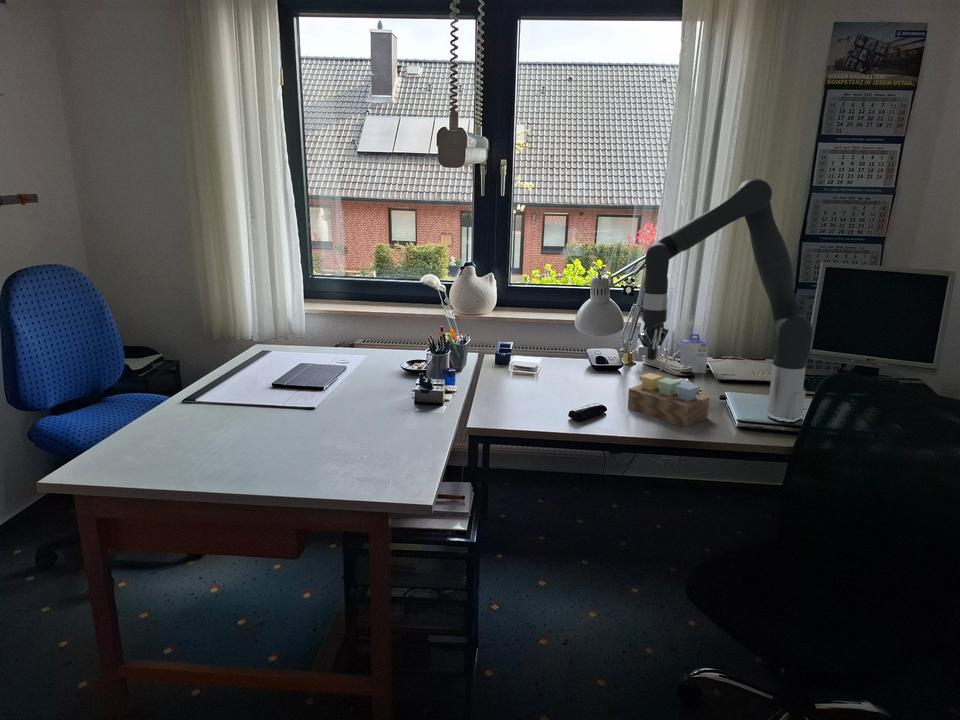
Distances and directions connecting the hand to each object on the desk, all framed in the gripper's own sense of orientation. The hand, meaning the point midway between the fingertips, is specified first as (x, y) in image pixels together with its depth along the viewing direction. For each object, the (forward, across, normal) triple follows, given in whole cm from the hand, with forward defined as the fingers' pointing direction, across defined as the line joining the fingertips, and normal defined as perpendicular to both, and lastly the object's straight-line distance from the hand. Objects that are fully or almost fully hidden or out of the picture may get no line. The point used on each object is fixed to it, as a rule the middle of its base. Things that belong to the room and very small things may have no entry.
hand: (651, 359), depth 214 cm
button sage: (+13, 0, -7) cm, 14 cm away
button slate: (+13, 0, -14) cm, 19 cm away
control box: (+17, 0, -7) cm, 18 cm away
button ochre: (+13, 0, 0) cm, 13 cm away
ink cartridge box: (+17, +46, +15) cm, 51 cm away
